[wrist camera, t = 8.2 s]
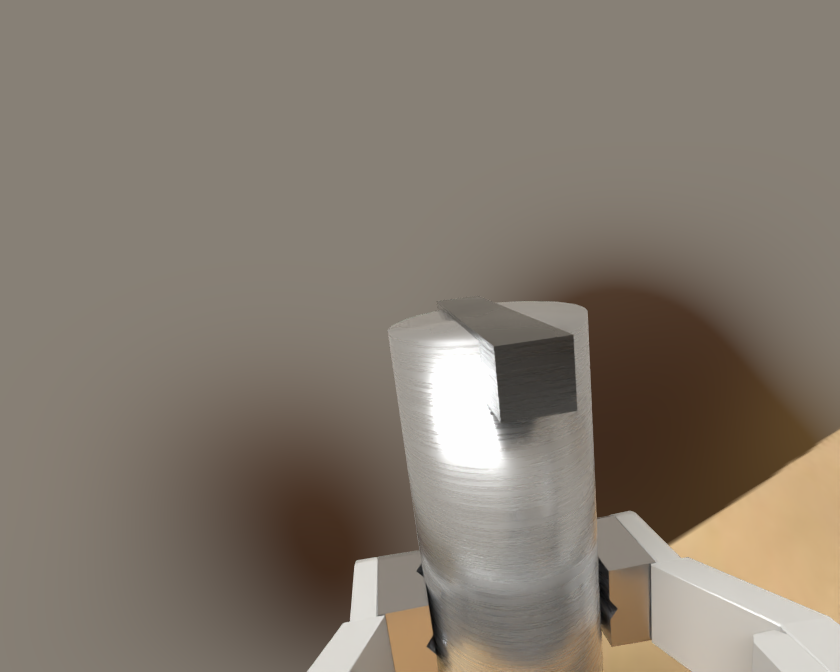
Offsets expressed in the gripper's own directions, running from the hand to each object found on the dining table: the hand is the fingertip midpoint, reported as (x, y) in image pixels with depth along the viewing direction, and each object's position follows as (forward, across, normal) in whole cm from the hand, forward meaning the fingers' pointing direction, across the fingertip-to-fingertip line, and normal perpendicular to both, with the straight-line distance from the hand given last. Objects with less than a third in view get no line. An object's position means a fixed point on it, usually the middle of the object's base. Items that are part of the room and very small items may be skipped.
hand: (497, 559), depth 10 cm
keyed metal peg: (-1, 0, +7) cm, 7 cm away
